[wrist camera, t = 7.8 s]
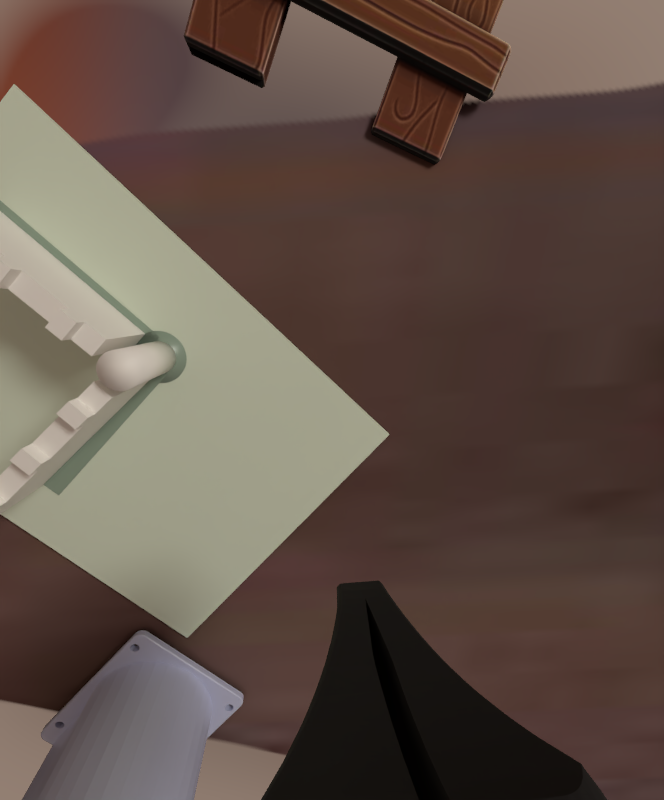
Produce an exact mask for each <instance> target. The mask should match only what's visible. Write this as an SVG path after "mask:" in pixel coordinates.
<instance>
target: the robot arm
mask: <svg viewBox="0 0 664 800" xmlns="http://www.w3.org/2000/svg"><path fill="white" fill-rule="evenodd" d="M134 644H136V645H138V646H135V645H134ZM243 697H244V696H243V694H242V693H241V692H240V691H238V690H237V689H235V688H234V687H232V686H231V685H229V684H228V683H226V682H225V681H223V680H222V679H220V678H218V677H217V676H215V675H214V674H212V673H211V672H209V671H208V670H206V669H205V668H203V667H202V666H200V665H198V664H197V663H195V662H194V661H192V660H191V659H189V658H188V657H186V656H185V655H183V654H182V653H180V652H178V651H177V650H175V649H174V648H172V647H171V646H169V645H168V644H166V643H165V642H163V641H162V640H160V639H159V638H157V637H155V636H154V635H152V634H151V633H149V632H148V631H145V630H141V631H138V632H136V633H135V634H134V635H133V636H132V637H131V638H130V639H129V640H128V641H127V642H126V643H125V644H124V645H123V646H122V647H121V648H120V650H119V651H118V652H117V653H116V654H115V655H114V656H113V657H112V658H111V659H110V660H109V661H108V662H107V663H106V664H105V665H104V666H103V667H102V668H101V669H100V670H99V671H98V672H97V673H96V674H95V675H94V676H93V677H92V678H91V679H90V680H89V681H88V682H87V683H86V685H85V686H84V687H83V688H82V689H81V690H80V691H79V692H78V693H77V694H76V695H75V696H74V697H73V698H72V699H71V700H70V701H69V702H68V703H67V704H66V705H65V706H64V707H63V708H62V709H61V710H60V711H59V712H58V713H57V714H56V715H55V716H54V717H53V718H52V720H51V721H50V722H49V723H48V724H47V725H46V726H45V727H44V729H43V731H42V732H41V737H42V739H43V740H45V741H47V742H49V743H50V744H52V745H53V746H52V748H51V750H50V751H49V753H48V755H47V756H46V758H45V760H44V762H43V764H42V765H41V767H40V769H39V771H38V772H37V774H36V776H35V778H34V780H33V781H32V783H31V785H30V787H29V788H28V790H27V792H26V794H25V795H24V797H23V799H22V800H194V796H195V791H196V787H197V781H198V777H199V772H200V768H201V763H202V758H203V754H204V748H205V744H206V740H207V738H208V737H209V736H210V735H211V734H212V733H213V732H214V731H215V730H216V729H217V728H218V727H219V726H221V725H222V724H223V723H224V722H225V721H226V720H227V719H228V718H229V717H230V716H231V715H232V714H233V713H234V712H235V711H236V710H237V709H238V708H239V707H240V706H241V705H242V704H243ZM229 704H230V705H229ZM261 800H607V799H606V797H605V796H604V795H603V793H602V792H601V790H600V789H599V787H598V786H597V785H596V783H595V782H594V781H593V779H592V778H591V777H590V775H589V774H588V773H587V772H586V770H585V769H584V767H583V766H582V764H581V763H579V762H577V761H576V760H574V759H572V758H571V757H569V756H568V755H566V754H564V753H563V752H561V751H559V750H558V749H556V748H555V747H553V746H551V745H550V744H548V743H546V742H545V741H543V740H542V739H540V738H538V737H537V736H535V735H534V734H532V733H531V732H530V731H528V730H527V729H525V728H524V727H522V726H521V725H520V724H518V723H517V722H515V721H514V720H512V719H511V718H510V717H508V716H507V715H506V714H504V713H503V712H502V711H500V710H499V709H498V708H497V707H495V706H494V705H493V704H492V703H490V702H489V701H488V700H487V699H485V698H484V697H483V696H482V695H480V694H479V693H478V692H477V691H476V690H474V689H473V688H472V687H471V686H470V685H469V684H468V683H466V682H465V681H464V680H463V679H462V678H461V677H460V676H459V675H458V674H457V673H456V672H455V671H454V670H453V669H451V668H450V667H449V666H448V665H447V664H446V663H445V662H444V660H443V659H442V658H441V657H440V656H439V655H438V654H437V653H436V652H435V651H434V650H433V649H432V648H431V647H430V646H429V644H428V643H427V642H426V641H425V640H424V639H423V638H422V636H421V635H420V634H419V633H418V632H417V631H416V629H415V628H414V627H413V626H412V624H411V623H410V622H409V621H408V619H407V618H406V617H405V616H404V614H403V613H402V612H401V610H400V609H399V608H398V606H397V605H396V604H395V602H394V601H393V599H392V598H391V597H390V595H389V594H388V592H387V591H386V589H385V588H384V586H383V584H382V583H381V582H380V581H369V582H356V583H343V584H340V585H339V586H338V587H337V614H336V620H335V626H334V631H333V636H332V640H331V644H330V648H329V651H328V655H327V659H326V662H325V666H324V669H323V672H322V675H321V678H320V681H319V683H318V686H317V689H316V692H315V694H314V697H313V699H312V702H311V704H310V707H309V709H308V712H307V714H306V716H305V718H304V721H303V723H302V725H301V727H300V729H299V731H298V733H297V735H296V737H295V739H294V741H293V743H292V745H291V747H290V749H289V751H288V753H287V755H286V757H285V759H284V761H283V763H282V765H281V767H280V768H279V770H278V772H277V774H276V775H275V777H274V779H273V780H272V782H271V784H270V785H269V787H268V789H267V791H266V792H265V794H264V796H263V797H262V799H261Z"/></svg>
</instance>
